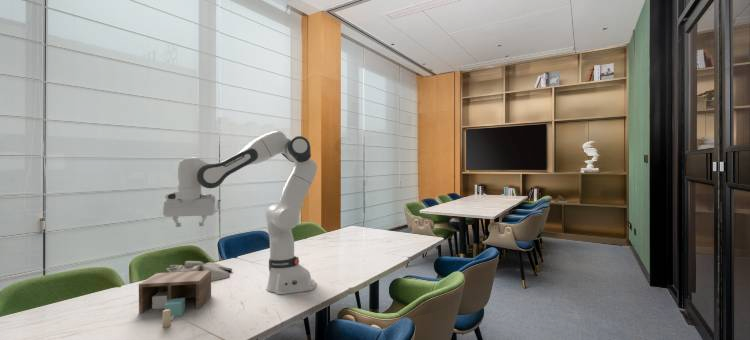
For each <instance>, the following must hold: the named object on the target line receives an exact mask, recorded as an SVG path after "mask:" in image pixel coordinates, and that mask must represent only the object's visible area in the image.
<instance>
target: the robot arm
mask: <svg viewBox="0 0 750 340" xmlns="http://www.w3.org/2000/svg"><path fill="white" fill-rule="evenodd" d="M311 151H312V150H311V143H310V142H309V140H308V139H307V138H306V137H304V136H301V135H296V136H293V137H292V138H288V137H287V136H286V134H285V133H284V132H283V131H280V130H274V131H271V132H268V133H265V134H263V135H261V136H259V137H257V138H255V139H254V140H252V141H250V142H249V143H248V144H247V145H246V146H245V147H243V149H242V150H240V151H239V152H238V153H236V154H235V155H233V156H230V157H229V158H227V159H225V160H222V161H221V162H218V163H210V162H207V161H204V160H203V159H201V158H200V157H197V156H193V157H191V156H190V157H186V158H183V159H181V160H180V161H179V163H178V168H177V170H178V171H177V179H178V187H177V190H176V191H174V192H171V193H167V194H166V195H165V197H164V198H165V201H164V202H163V208H162V209H163V210H162V214H163V216H164V217H165V218H166V217H169V218H170V217H172V220H173V222H174V224H175V227H176V228H180V227H182V221H179V217H201V218H202V219H201V221H200V222H199V223H198V226H199V227H204V226H205V221H206V220H207V218H208V217H210V216H213V215H215V214H216V205H215V204H216V196H215V195H212V194H211V193H208V194H205V193H204V194H202V187H203V188H206V189H215V188H218V187H219V186H220V185H221V184H223V182H224V181H225V179H226V178H227V177H228V176H230V175H233V174H234V173H235V172H237V171H238V170H241V169H242V168H244V167H247V166H251V165H257V164H260V163H262V162H265V161H268V160H270V159H271V158H273V157H275V156H276V155H279V154H281V155H283V157H284V158H286V159H287V160H288V161H289V162H291V163H294V165H293V166H294V167H293V168H292V171H291V173H290V175H289V177H288V179H287V180H286V183H284V186H283V188H282V193H281V196H280V200H279V203H274V204H272V205H270V206H269V207H268V208H267V209H266V212H265V216H266V223H267V224H266V226H267V230H268V231H267V232H268V238H269V259H268V271H269V276H268V281H267V285H266V290H267V292H268V291H269V292H270V293H274V294H276V295H286V294H294V293H302V292H309V291H313V290H314V289H315V288H316V286H317V284H316V283H317V282H316V281H315V279H313V278H312V276H311V273H310V271H309V270H308V269H307V268H306V267H304V266H302V265H301V264H300V258H299V256H296V255H295V238H294V236H293V231H292V229H294V228H296V227H297V226H298V224H299V221H300V213H301V210H302V207H303V203H304V201H305V198H306V197H307V194H308V191H310V188H311V186H312V184H313V181H314V179H315V177H316V175H317V171H318V165H317V163H316V162H315V161H314V160H312V159H311V157H312V153H311Z"/></svg>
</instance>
